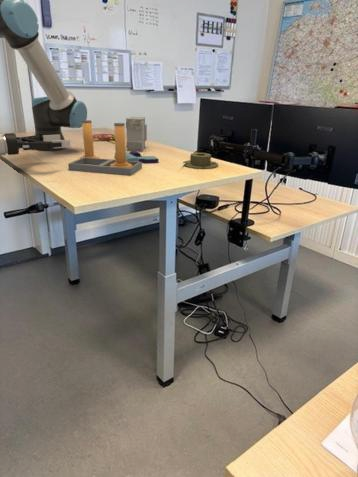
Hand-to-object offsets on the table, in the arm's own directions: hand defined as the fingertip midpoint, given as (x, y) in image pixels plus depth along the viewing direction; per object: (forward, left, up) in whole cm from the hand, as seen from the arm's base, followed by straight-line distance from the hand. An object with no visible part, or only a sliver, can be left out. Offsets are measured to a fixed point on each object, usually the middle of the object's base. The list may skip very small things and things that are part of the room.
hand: (64, 140), depth 138 cm
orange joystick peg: (+6, +7, -9) cm, 13 cm away
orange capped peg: (+25, -5, -8) cm, 27 cm away
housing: (+19, -5, -9) cm, 22 cm away
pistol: (+25, +13, -10) cm, 30 cm away
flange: (+50, +19, -10) cm, 55 cm away
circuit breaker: (+14, +43, -10) cm, 46 cm away
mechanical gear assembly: (-9, +60, -10) cm, 61 cm away
